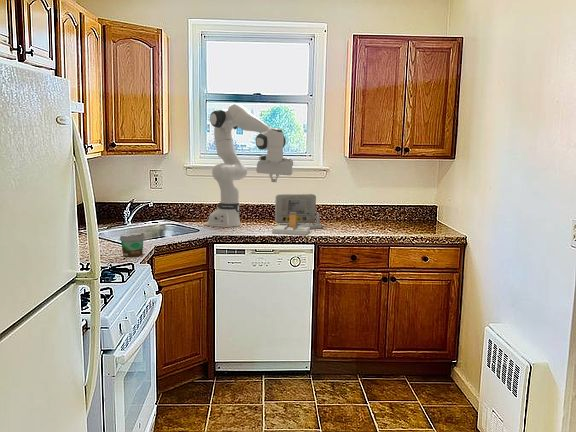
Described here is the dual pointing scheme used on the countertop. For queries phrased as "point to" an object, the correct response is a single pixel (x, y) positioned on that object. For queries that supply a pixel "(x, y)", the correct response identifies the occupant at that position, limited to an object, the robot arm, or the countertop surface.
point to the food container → (132, 245)
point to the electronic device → (313, 225)
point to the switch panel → (291, 230)
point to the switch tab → (292, 219)
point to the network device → (295, 208)
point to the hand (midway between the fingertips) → (273, 182)
